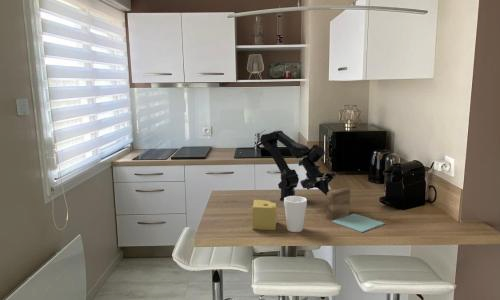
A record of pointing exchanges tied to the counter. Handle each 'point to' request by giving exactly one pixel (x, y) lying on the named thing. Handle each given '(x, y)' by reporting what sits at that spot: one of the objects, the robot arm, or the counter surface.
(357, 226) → the mat
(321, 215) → the counter surface
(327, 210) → the walnut block
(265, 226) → the cheese
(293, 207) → the foam cup
